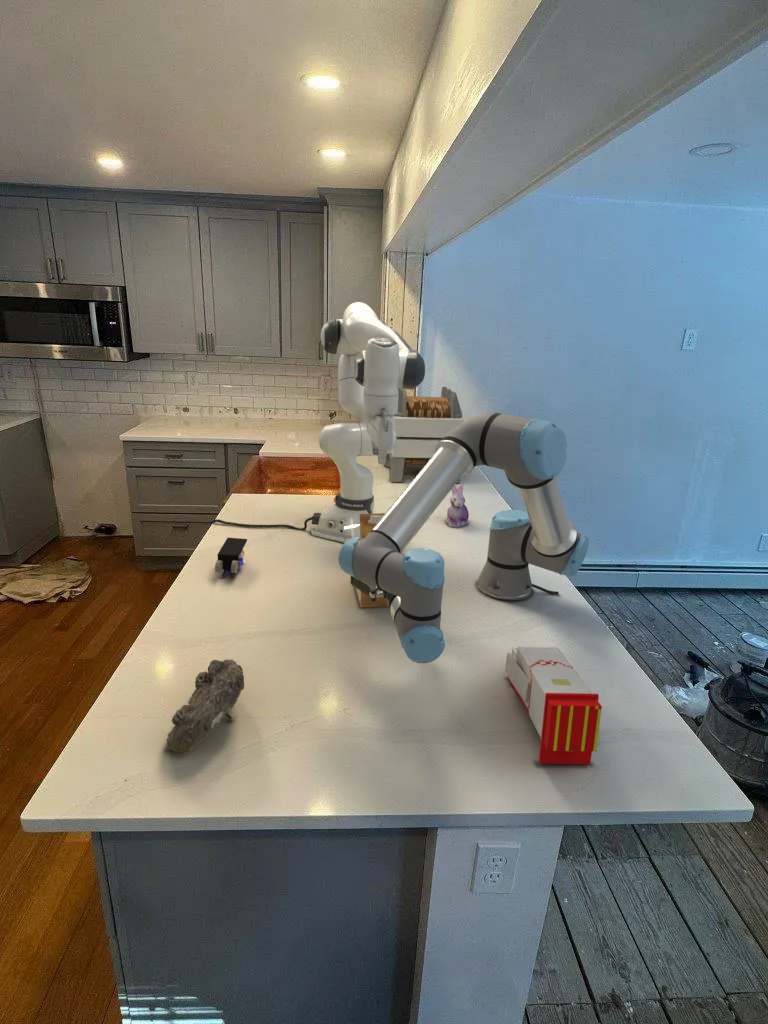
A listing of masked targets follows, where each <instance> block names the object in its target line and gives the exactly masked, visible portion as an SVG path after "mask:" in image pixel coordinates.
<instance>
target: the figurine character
mask: <svg viewBox="0 0 768 1024" xmlns="http://www.w3.org/2000/svg"><path fill="white" fill-rule="evenodd" d="M247 542H248V538H240V537H226V539H225V541H224V543H223V544H222V546H221V547H220V549H219V551H218V552H217V560H216V562H215V564H214V572H215V573H221V577H222V578H224V577H225V576H226V574H227V573H230V574H231V573H232V574H231V578H234V577H235V575H236V573H237V572H239V571H240V567H242V566H243V565H244V564H245V562H244V558H245V551H244V547H245V546H246V544H247Z"/></svg>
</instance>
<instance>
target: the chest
mask: <svg viewBox="0 0 768 1024" xmlns="http://www.w3.org/2000/svg"><path fill="white" fill-rule="evenodd" d="M355 591H356V595H357V598H358V603H359V606H360V608H378V607H379V608H381V607H383V608H385V607H388V604H387V600H386V599H384V598H383V597H378V598H376V601H371V600H370V598H369V596H367V595H366V594H364V593H363V592H362V591H360V590H359V589H357V588H356V587H355Z"/></svg>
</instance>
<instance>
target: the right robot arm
mask: <svg viewBox="0 0 768 1024" xmlns="http://www.w3.org/2000/svg"><path fill="white" fill-rule="evenodd" d="M567 449H568V443H567V437H566V434H565V431H564V430H563V428H562V427H561V426H560V425H558V424H557V423H554V422H551V421H547V420H545V419H541V418H533V417H532V418H531V417H525V416H519V415H511V414H506V413H504V414H503V413H499V412H493V411H487V412H482V413H478V414H475V415H472V416H469V417H468V418H466V419H464V421H462V422H461V423H459V424H458V425H456V426H455V427H453V428H452V429H451V430H450V431H448V432H447V433H446V434H445V435H444V436H443V437H442V438H441V440H440V441H439V442H438V443H437V444H436V446H435V454H434V455H433V457H432V458H431V459H430V460H429V461H428V463H427V464H426V465H425V466H422V468H421V470H420V471H419V472H418V474H416V476H415V477H414V478H413V480H412V481H411V482H410V483H409V484H408V485H407V487H406V488H405V489H404V490H403V491H402V492H401V493H400V495H399V496H398V497H397V499H396V500H395V501H394V502H393V503H392V505H391V506H390V507H389V508H388V509H387V511H386V512H385V514H384V516H383V517H382V518H381V519H380V520H379V522H378V523H377V524H376V525H375V527H374V528H373V529H372V530H371V531H370V532H369V534H368V535H367V536H366V537H365V538H364V539H363V538H358V537H353V538H351V539H348V540H347V541H346V542H345V543H343V544H342V545H341V547H340V550H339V551H338V552H339V553H338V566H339V568H340V569H341V571H343V572H344V573H346V574H347V575H349V576H350V580H349V581H350V582H349V583H350V585H352V586H353V587H354V588H355V589H356V588H357V589H359V590H360V591H362V592H363V593H364V594H366V595H367V596H369V598H370V600H371V601H376V598H378V597H383V598H384V599H386V600H387V604H388V606H387V608H388V609H389V612H390V615H391V618H392V621H393V623H394V626H395V629H396V632H397V636H398V638H399V642H400V646H401V648H402V649H403V652H404V654H405V655H406V657H407V658H408V659H409V660H410V661H412V662H413V663H415V664H416V663H417V664H430V663H432V662H434V661H437V659H439V658H440V657H441V655H442V654H443V652H444V651H445V647H446V641H445V636H444V633H443V631H442V629H441V619H442V603H443V602H442V601H443V591H444V583H445V580H446V578H445V560H444V557H443V556H442V554H440V553H439V552H437V551H436V550H433V549H430V548H429V549H426V548H421V547H420V548H419V547H418V548H412V549H408V550H407V551H406V552H405V553H404V554H403V552H404V551H405V549H406V548H407V547H408V545H409V544H410V543H411V541H412V540H413V539H414V537H416V535H417V534H418V533H419V531H420V530H421V529H422V528H423V526H424V525H425V524H426V522H427V521H428V520H429V519H430V518H431V516H432V515H433V513H434V512H435V511H436V510H437V509H438V507H439V506H440V505H441V503H443V501H444V499H445V498H446V497H447V496H448V494H449V493H450V492H451V491H452V488H453V487H454V485H455V486H456V484H458V483H457V481H458V480H459V479H460V480H461V478H462V477H463V476H466V475H469V474H470V473H472V471H473V470H474V469H475V468H476V467H478V466H485V467H490V468H494V469H499V470H502V471H504V473H505V476H506V479H507V481H508V482H509V483H510V485H512V486H513V487H515V488H516V489H518V491H519V495H520V498H521V500H522V503H523V506H524V508H525V510H523V509H507V510H502V511H499V512H497V513H494V514H493V516H492V518H491V523H490V527H489V538H488V546H487V556H486V561H485V564H484V566H483V568H482V570H481V572H480V574H479V576H478V579H477V588H478V590H479V591H480V592H482V593H483V594H485V595H486V596H488V597H491V598H494V599H497V600H502V601H520V600H524V599H528V598H529V597H530V596H531V595H532V591H533V588H534V589H537V590H539V591H542V592H543V593H546V594H550V595H559V591H556V590H555V591H554V590H549V589H547V588H543V587H542V586H539V585H536V584H534V583H532V579H531V573H530V569H529V565H532V566H535V567H537V568H541V569H544V570H547V571H550V572H553V573H555V574H558V575H560V576H565V577H574V576H576V574H577V573H578V572H579V570H580V569H581V567H582V565H583V563H584V560H585V558H586V555H587V552H588V548H589V543H590V537H588V535H586V534H584V533H582V532H581V533H580V532H578V531H577V528H576V526H575V524H574V523H573V522H572V521H571V520H570V519H569V518H568V517H567V513H566V511H565V507H564V503H563V499H562V496H561V492H560V489H559V484H558V480H557V477H558V475H560V473H561V472H562V470H563V468H564V466H565V462H566V459H567V451H566V450H567Z"/></svg>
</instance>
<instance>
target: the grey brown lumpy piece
mask: <svg viewBox="0 0 768 1024" xmlns="http://www.w3.org/2000/svg"><path fill="white" fill-rule="evenodd" d="M243 670H244V669H243V667H242V665H240V664H237V662H236V661H235V660H234V659H232V658H231V659H227V658H226V659H224V660H223V661H222V660H217V659H212V660H211V661H210V663H209V665H208V666H207V671H201V672H199V673H198V674H197V675H196V676H195V680H194V684H195V685H194V687H195V689H194V690H193V693H192V694H191V697H190V698H189V700H188V704H184V705H182V706H181V707H180V709H177V710H176V711H175V713H174V715H173V716H172V718H171V723H172V724H173V727H172V730H171V731H170V732H168V734H167V738H166V741H167V742H166V745H167V749H168V750H169V751H173V752H174V753H176V754H178V753H182V752H188V751H189V752H192V751H193V750H195V748H196V747H197V746H199V744H200V743H201V742H203V741H204V740H205V739H206V738H207V737H208V736H209V735H210V734H211V733H212V732H214V730H215V729H217V727H218V726H219V724H220V722H221V721H222V720H223V719H224V718H225V716H226V717H227V719H229V720H233V717H232V715H230V714H229V710H230V709H231V708H234V706H235V704H236V703H237V702H238V699H239V697H240V695H241V693H242V691H243V690H245V689H244V688H245V675H244V671H243Z"/></svg>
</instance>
